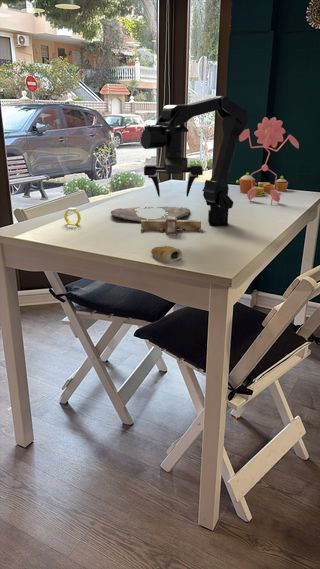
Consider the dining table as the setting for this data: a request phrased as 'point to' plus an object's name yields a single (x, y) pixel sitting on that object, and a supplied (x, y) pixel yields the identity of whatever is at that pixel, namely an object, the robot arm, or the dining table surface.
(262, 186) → the toy tea set
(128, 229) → the dining table surface
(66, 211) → the gold ring
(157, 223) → the rail
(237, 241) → the dining table surface
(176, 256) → the pastry
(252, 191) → the figurine
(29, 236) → the dining table surface
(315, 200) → the dining table surface
